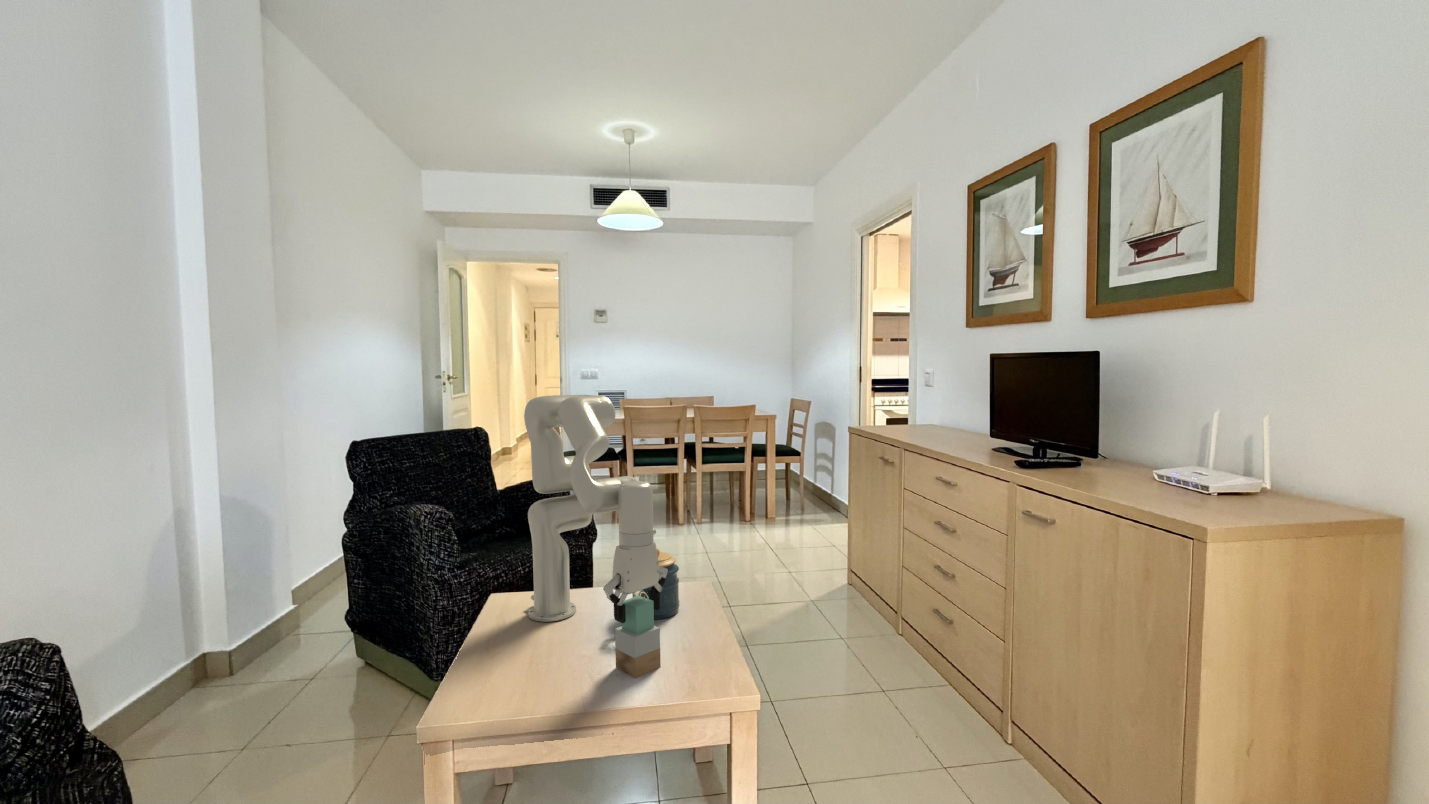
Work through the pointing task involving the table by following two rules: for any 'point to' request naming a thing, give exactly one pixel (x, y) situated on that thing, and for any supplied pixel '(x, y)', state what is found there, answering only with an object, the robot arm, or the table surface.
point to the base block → (638, 663)
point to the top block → (637, 641)
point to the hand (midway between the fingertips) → (637, 614)
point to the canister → (667, 587)
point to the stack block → (639, 614)
